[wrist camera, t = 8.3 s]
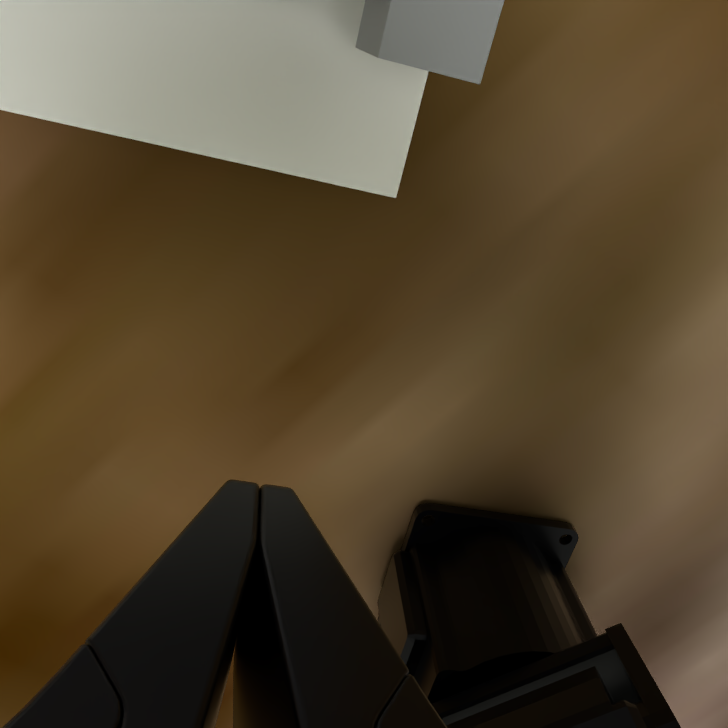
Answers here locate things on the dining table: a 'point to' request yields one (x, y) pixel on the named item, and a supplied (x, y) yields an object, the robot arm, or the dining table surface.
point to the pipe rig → (246, 75)
